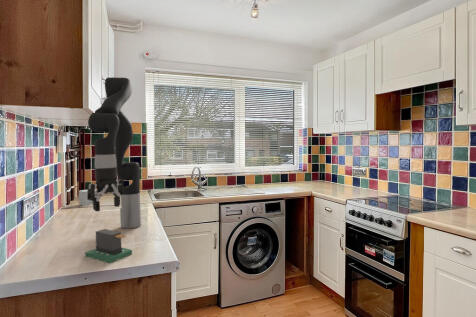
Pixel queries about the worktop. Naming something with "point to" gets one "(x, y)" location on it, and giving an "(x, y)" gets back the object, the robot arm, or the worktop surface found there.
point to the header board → (108, 254)
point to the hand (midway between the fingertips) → (107, 208)
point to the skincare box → (84, 198)
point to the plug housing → (108, 239)
